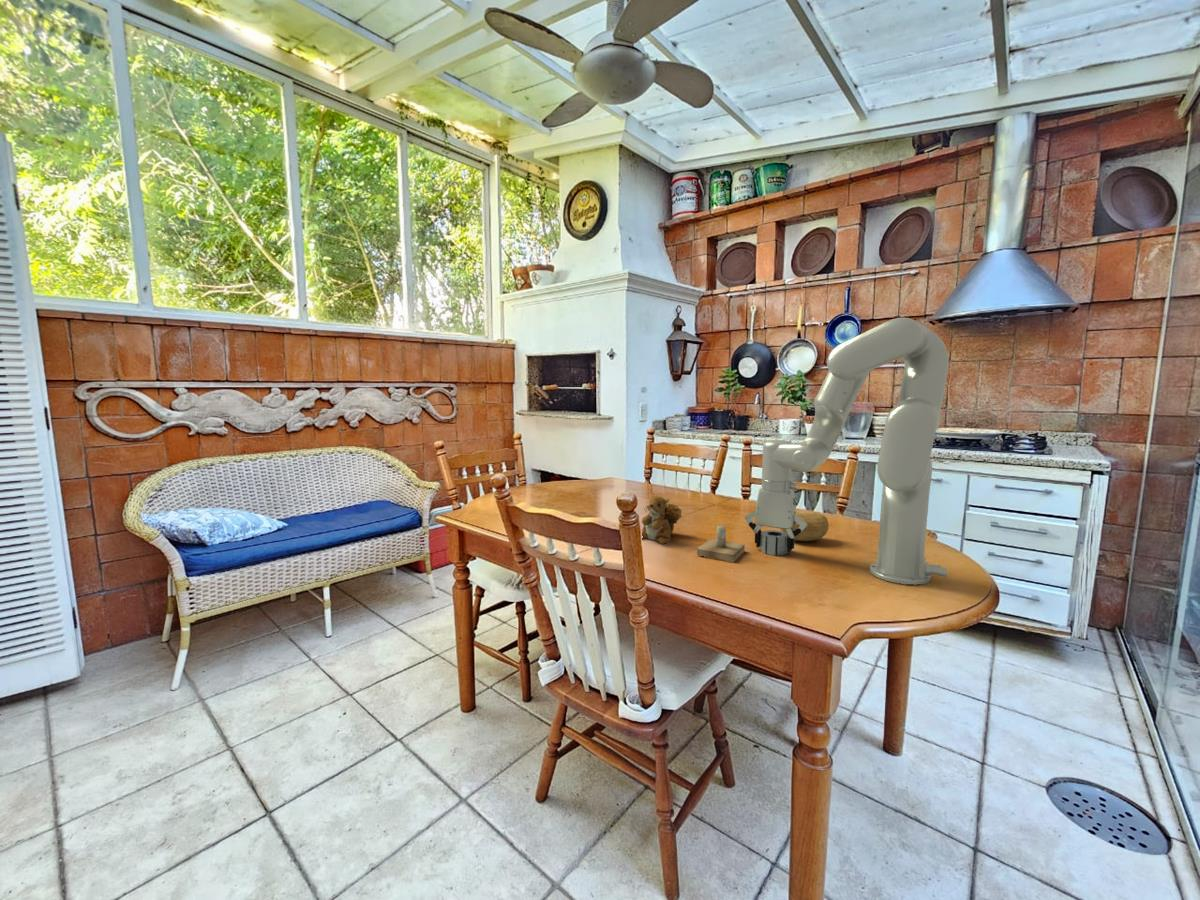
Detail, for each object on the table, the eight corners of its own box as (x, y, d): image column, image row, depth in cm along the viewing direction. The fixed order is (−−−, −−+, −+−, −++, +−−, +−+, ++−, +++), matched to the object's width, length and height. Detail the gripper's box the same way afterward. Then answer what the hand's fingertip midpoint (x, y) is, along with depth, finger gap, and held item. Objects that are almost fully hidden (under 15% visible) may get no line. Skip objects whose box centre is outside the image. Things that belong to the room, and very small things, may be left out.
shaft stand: (744, 551, 141) (745, 525, 140) (733, 562, 133) (734, 534, 132) (709, 545, 147) (710, 520, 146) (696, 555, 138) (697, 528, 137)
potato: (773, 535, 155) (774, 509, 154) (820, 535, 155) (821, 509, 154) (783, 545, 146) (784, 518, 145) (834, 545, 145) (835, 518, 144)
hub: (789, 549, 142) (790, 532, 141) (783, 557, 136) (784, 538, 136) (764, 545, 146) (765, 528, 145) (758, 552, 140) (758, 535, 139)
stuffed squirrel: (632, 539, 153) (632, 496, 152) (660, 529, 164) (660, 488, 162) (659, 546, 147) (659, 501, 145) (686, 535, 157) (687, 493, 155)
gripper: (812, 486, 137) (810, 549, 140) (748, 480, 146) (746, 540, 149) (807, 491, 131) (804, 558, 133) (740, 485, 140) (738, 547, 142)
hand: (774, 548), depth 141 cm, fingers open, 7 cm apart
